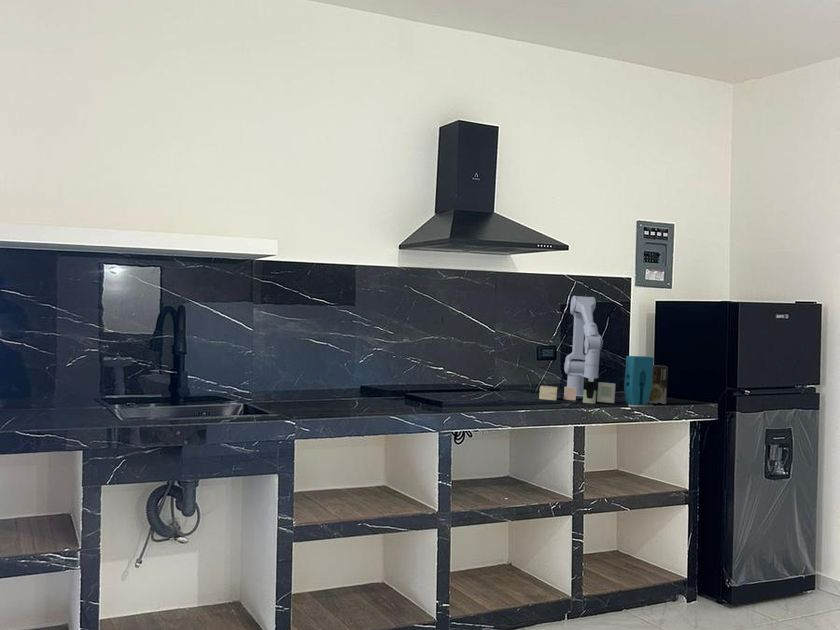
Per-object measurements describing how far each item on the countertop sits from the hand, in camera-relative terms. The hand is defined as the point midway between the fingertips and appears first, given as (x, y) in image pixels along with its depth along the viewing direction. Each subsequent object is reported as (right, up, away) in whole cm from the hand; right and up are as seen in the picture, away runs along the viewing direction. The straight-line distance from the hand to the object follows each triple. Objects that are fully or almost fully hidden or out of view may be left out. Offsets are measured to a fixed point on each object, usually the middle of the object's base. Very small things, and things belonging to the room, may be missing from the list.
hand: (589, 397), depth 364 cm
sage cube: (0, -2, 0) cm, 2 cm away
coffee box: (+31, -4, +15) cm, 35 cm away
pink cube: (-7, -2, +7) cm, 10 cm away
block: (+21, -4, +7) cm, 23 cm away
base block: (-17, -1, +4) cm, 17 cm away
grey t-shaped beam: (+8, -2, +6) cm, 10 cm away
